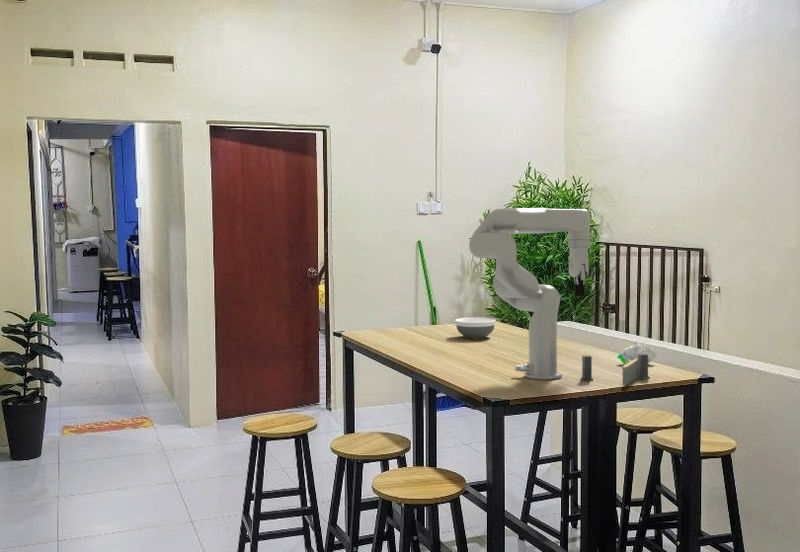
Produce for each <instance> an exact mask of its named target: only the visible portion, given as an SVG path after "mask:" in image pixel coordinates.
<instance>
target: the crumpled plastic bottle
mask: <svg viewBox="0 0 800 552" xmlns="http://www.w3.org/2000/svg"><path fill="white" fill-rule="evenodd" d="M638 354H648V364H650V363H651V362H652V361H653V360H655V359H656V358H657V357H658V353H656V352H655V351H654V350H653V349H651V348H650V347H649V346H648V345H646V343H645V342H642V343H640V342H639V341H638V340H635V341H632V342H631V344H630V346H628V347H626V348H623V351H622V352H621V353H619V354H618V355H617V360H618V359H619V360H620V361H621V362H622V364H623V366H624V365H626V364H628V363H629V362H631V361H632V360H634V359H638Z"/></svg>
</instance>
